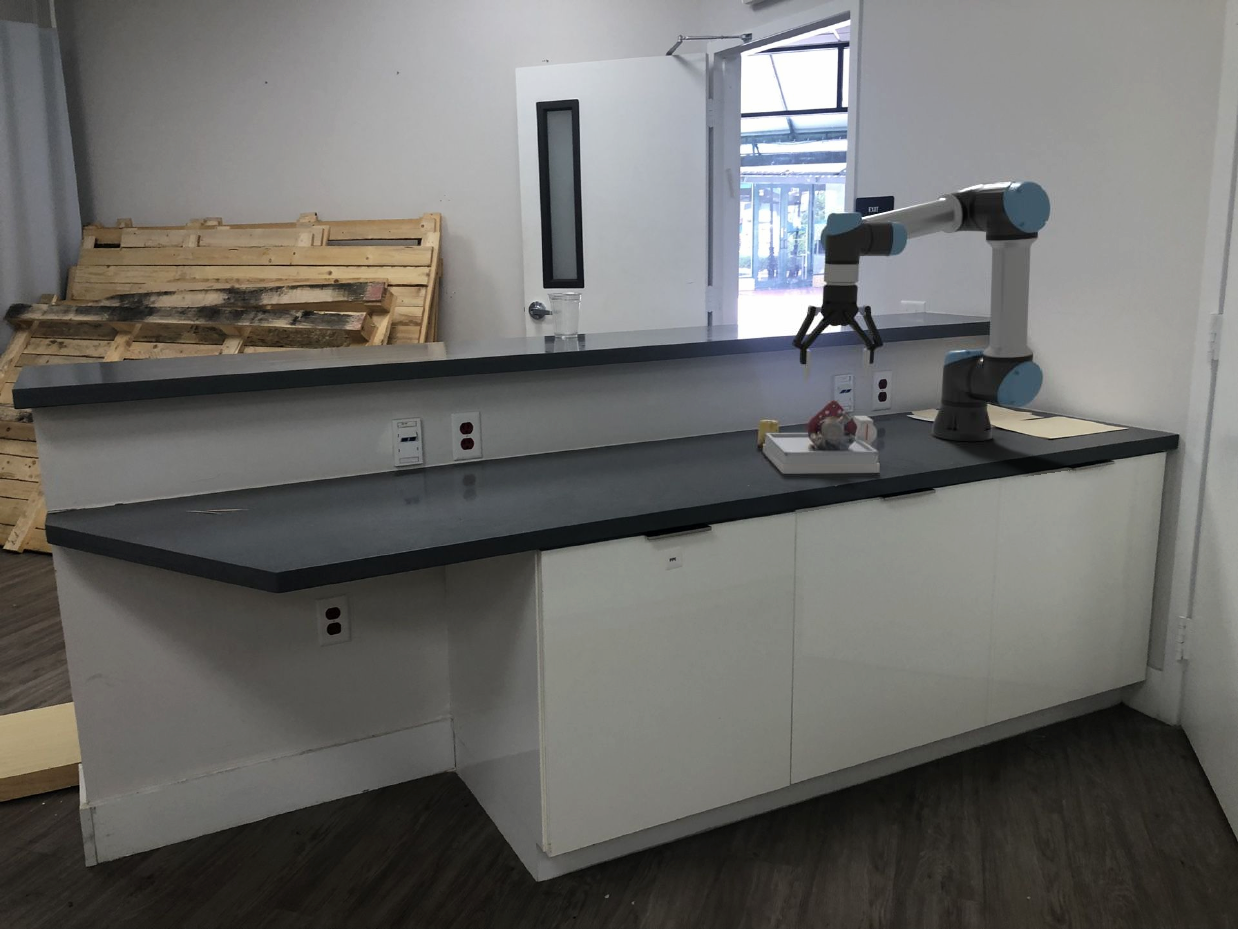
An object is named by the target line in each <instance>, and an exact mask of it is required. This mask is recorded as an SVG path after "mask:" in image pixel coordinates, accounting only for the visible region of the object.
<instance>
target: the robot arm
mask: <svg viewBox="0 0 1238 929" xmlns="http://www.w3.org/2000/svg"><path fill="white" fill-rule="evenodd" d="M1050 215H1051V203H1050V198H1049V195H1048V193H1047V192H1046V190H1045V189H1043V187H1042V186H1041V185H1040V184H1038V183H1036V182H1034V181H1029V180H1028V181H1027V180H1014V181H1002V182H1001V181H1000V182H985V183H978V184H975V185H972V186H968V187H966V188H963V189H959V190H955V191H952V192H948V193H944V194H942V195H940V196H939V197H938V198H937V200H932V201H927V202H923V203H920V204H914V205H911V206H907V207H903V208H899V209H894V210H890V211H886V212H881V213H877V214H872V215H867V216H864V217H863V216H862V213H861V212H854V211H853V212H851V211H850V212H842V211H841V212H838V211H837V212H830V214H828V216H827V218H826V219H827V220H826V225H825V226H824V228H823V229H822V231H821V233H820V236H819V237H820V240H819V241H820V245H821V248H822V249H823V250H824V270H823V271H824V273H823V282H824V283H825V284H824V285H823V286H822V287H823V288H822V289H823V290H822V305H821V306H815V305H812V304H811V305H808V307H807V312H806V316H805V317H804V320H803V322H802V324H801V325H800V327H799V329H798V331H797V333H796V335H795V337H794V338H793V341H792V342H791V345H792V347H795V348H797V349H799V364H801V365H803V370H802V371H803V373H802V378H803V379H805V380H810V372H811V355H812V354H811V350H810V349H809V347H810V346H811V345H812V344H813V343H814V342H815V341H816V340H817V338H819V336H820V335H821V334H822V333H823V331H825V330H826V329H827V328H828V327H829V326H832V327H838V326H841V327H842V326H843V327H847V326H848V325H849V326H850V328H851V329H852V330H853V331H854V333H855V335H857V337H858V338H859V339H860V340H861V342H862V343H863V344H864V346H865V347H866V348H863V350H862V361H861V362H862V366H861V378H863V379H864V380H868V379H869V375H870V373H869V372H870V365H873V364H874V361H875V360H874V359H875V350H877V348H881V347H883V345H884V342H883V340H882V337H881V335H880V333H879V330H878V329H877V328H878V327H877V326H876V323H875V321H874V319H873V317H872V316H873V315H872V308H871V306H870V305H866V304H864V305H863V306H858V289H859V287H858V285H857V284H856V283H858V282H859V276H860V275H859V274H860V273H859V272H860V270H859V269H860V261H861V260H860V258H861V257H887V258H888V257H891V256H893V257H894V256H899V255H900V254H901V253H903V251H904V249H906V246H907V243H908V240H910V239H916V238H918V237H922V236H926V235H932V234H935V233H940V232H943V233H946V234H953V233H958V232H985V242H986V243H987V244H988V245H989V246H990V247H991V248H992V250H991V252H992V253H991V279H990V280H991V284H990V286H991V287H990V322H989V324H990V325H989V344H988V346H987V347H986V348H984V349H983V348H982V349H960V350H950V351H948V352H947V353H946V354H945V357H944V363H943V369H942V383H941V384H942V385H941V397H940V398H941V399H940V407H939V409H938V411H937V413H936V417H935V418H934V421H933V423H932V426H931V435H932V436H934V437H935V438H936V437H937V438H940V439H944V440H948V441H949V440H950V441H957V442H982V441H983V442H984V441H988V440H991V439H992V435H993V428H992V425H991V419H990V416H989V412H988V403H990V404H995V405H1000V406H1001V407H1004V408H1005V407H1006V408H1022V407H1025V406H1027V405H1029V404H1030V403H1031V402H1033V401H1034V400H1035V397H1037V396H1038V394H1039V393H1040V391H1041V388H1042V386H1043V382H1044V380H1043V379H1044V374H1043V369H1042V368H1040V365H1039V364H1037V363H1036V362H1034V351H1033V350H1032V349H1031V348H1030V347H1029V346H1028V326H1029V325H1028V323H1029V322H1028V319H1029V295H1030V294H1029V293H1030V272H1031V270H1030V269H1031V268H1030V267H1031V266H1030V265H1031V248H1032V245H1033V244H1034V243H1035V242H1036V241H1037V240H1038V239H1039V231H1040V230H1042V229H1043V228H1044V227H1045V226H1046V225H1047V223H1046V222H1048V221H1049V218H1050ZM819 313H820V314H821V316H822V318H821V320H820V321H819V322H818V324H817V325H816V326H815V327H814V329H813V330H812V331H811V332H810V333H809V334H808V335H807V333H808V331H809V330H810V327H811V325H812V324H813V322H814V320H815V318H816V317H817V316H818V315H819ZM858 313H859V314H860V316H862V318H863V321H864V322H865V325H866V327H867V329H868V332H869V334H870V336H871V339H872V340H871V339H870V337H869V336H868V335H867V333H866V332H865V331H864V330H863V329H862V327H861V325H859V323H858V321H857V320H856V317H857V315H858ZM806 335H807V337H806ZM805 337H806V338H805ZM804 338H805V339H804Z"/></svg>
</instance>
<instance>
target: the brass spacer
mask: <svg viewBox="0 0 1238 929" xmlns="http://www.w3.org/2000/svg"><path fill="white" fill-rule="evenodd" d="M779 426H780V422H779V421H778V420H773V419H762V420H758V437H757V440H758V441H757V445H758V446H759V447H762V448H763V444H765V433H779V431H780V430H779V429H780V428H779Z"/></svg>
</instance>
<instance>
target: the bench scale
mask: <svg viewBox="0 0 1238 929" xmlns="http://www.w3.org/2000/svg"><path fill="white" fill-rule="evenodd" d="M852 419H853V420H854V421H855V423H856V424H857V431H856V434H855V441H854V443H853V444H851V445H850V447H849V448H848V450H846V451H841V450H819V449H818V448H817V447H815V449H816V450H815V451H810V450H809V448H808V446H809V444H813V443H812V442H811V440H810V439H809V437H808V432H778V433H765V444H763V447H762V453H763V454H764V455H765V456H766V457H767V458H768V459H769V461H771V463H772V464H773V465H774V466H775V467H776V468H777V469H778V470H779V472H780V473H781V474H787V475H792V474H794V475H795V474H796V475H797V474H799V475H800V474H875V473H878V474H879V473H880V466H881V465H880V463H879V461H878V460H879V450H877V449H875V448H874V447H872V443H873V442H874V441H875V440H876V438H877V435H878V431H877V428H876V427H875V425H874V420H873V419H871V418H870V417H869V416H867V415H853V416H852ZM818 434H819V432H818Z"/></svg>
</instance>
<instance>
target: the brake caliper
mask: <svg viewBox="0 0 1238 929" xmlns="http://www.w3.org/2000/svg"><path fill="white" fill-rule="evenodd" d="M826 412H828V413H826ZM838 412H841V413H840V414H839V413H838ZM824 420H825V421H824ZM822 421H824V422H822ZM806 428H807V430H806V431H807V433H808V437H809V439H810V440H811V442H812V443H813V444H809V446H808V448H809V450H810V451H815V450H816V449H815V447H817V448H818V449H819V450H841V451H846V450H848V448H849V447H850V445H851V444H853V443H854V441H855V434H856V431H857V424H856V423H855V421H854V420H853V417H851V416H850V414H849V413H848V410H847V409H844V408H843V407H842V405H841V404H840V403H839V402H838V401H836V400H834V399H833V400H830V402H828V403H827V404H826V405H825V406H824V407H823V408H822V409H821V410H820V411H818V412H817V413H816V414H815V415H814V416H813V417H811V419H810V420H809V421H808V422H807V424H806ZM818 433H819V434H818Z"/></svg>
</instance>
